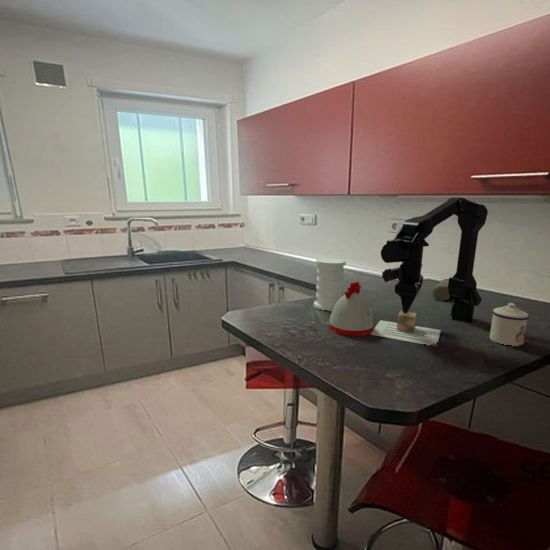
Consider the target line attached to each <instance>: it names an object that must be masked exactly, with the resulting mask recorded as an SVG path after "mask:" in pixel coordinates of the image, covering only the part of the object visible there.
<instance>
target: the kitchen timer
mask: <svg viewBox="0 0 550 550" xmlns="http://www.w3.org/2000/svg"><path fill="white" fill-rule="evenodd" d="M361 289H362V285H361V284H360V282H359V281H356V282H350V284H349V287H348V286H347V291H345V292H344V294H342V297H341V298H340V299H339V300H338V301H337V303H336V304H335V306H332V310H331V311H330V312H331V313H330V317H329V323H328V327H329V330H331V331H332V332H334V333H336V334H339V335H343V336H349V337H350V336H352V337H360V336H367V335H370V334H371V333H372V332H373V330H374V312H373V309H371V308H370V305H369V303H368V302H367V301H366V299H365V298H364V297H363V296H362V295H361V294H360V291H361Z"/></svg>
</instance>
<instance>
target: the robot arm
mask: <svg viewBox="0 0 550 550" xmlns="http://www.w3.org/2000/svg"><path fill="white" fill-rule="evenodd" d="M488 211H489V209H488V208H487V207H486V205H484V204H481V203H480V204H479V203H477V202H475V201H474V202H473V201H471V200H468V199H466V198H464V197H455V196H454V197H450V198H448V199H447V200H446V201H444V202H443V203H441V204H440V205H438V206H437V207H435V208H433V209H431V210H430V211H428V212H427V213H425V214H424V215H420V216H414V217H411V218H409V219H406V220H404V221H403V223H402V226H401V227H400V229H399V231H398V232H397V234H396V235H395V237H394V238H393V239H387V240H386V244H384V245H383V246H382V248H381V250H380V256H381V259H382V261H383V262H384V263H386V264H390V263H391V264H393V263H401V264H400V265H399V266H398V267H393V268H385V269H384V271H382V272H381V275H382V276H381V278H382V279H383V282H384V283H388V282H389V281H395V280H398V281H397V282H396V283H395V285H394V292H395V294H396V295H397V296H399V297H400V301H401V306H402V307H401V308H402V311H403V313H407V312H409V310H410V308H411V306H412V305H413V303H414V301H415V299H416V297H417V296H418V294H419V292H420V290H421V288H422V286H423V284H424V276H423V275H422V272H421V271H422V267H423V255H424V247H429V245H430V244H429V243H428V242H427V241H426V239H427V237H429V236H430V235H431V234H432V233H433V232H434V228H435V227H436V226H438V225H439V224H441V223H443V222H444V221H446V220H447V219H449V218H451V217H452V216H457V224H458V226H459V228H460V231H461V233H460V241H459V249H458V257H457V264H456V265H457V266H456V270H455V271H456V272H455V273H454V275H453V276H452V277H451V276H450V277H449V278H448V279H449V283H448V287H447V289H448V293H449V297H450V298H449V300H450V301H453V303H452V305H451V312H450V317H451V320H454V321H457V322H458V321H459V322H465V323H466V322H467V323H473V322H474V311H475V307H477V306H478V307H479V306H480V304H481V302H482V297H481V295H480V294H479V292H478V291H477V287H478V286H477V284H478V283H477V280H476V279H475V276H474V274H473V272H474V266H475V265H474V264H475V259H476V253H477V245H478V238H479V237H478V236H479V232H480V230H481V229H482V228H483V227H484V225H486V222H487V218H488V217H487V216H488V214H489V213H488Z"/></svg>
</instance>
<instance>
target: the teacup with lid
mask: <svg viewBox="0 0 550 550" xmlns="http://www.w3.org/2000/svg"><path fill="white" fill-rule="evenodd" d="M529 318H530V316H529V314H528V313H527V312H526V311H524V310H521V309H520V308H518V307H517V305H516V304H515V303H513V302H508V303H507V305H504V306H501V307H495V308H494V309H493V310H492V320H491V326H490V332H489V339H490V340H491V341H492V342H494V343H496V342H497V343H496V344H498V343H500V344H499V345H501V344H504V345H503V346H506V345H512V346H511V347H514V346H516V347H520V346H519V345H522V344H523V345H524V342H525V336H526V330H527V325H528V320H529ZM523 345H522V346H523Z"/></svg>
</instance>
